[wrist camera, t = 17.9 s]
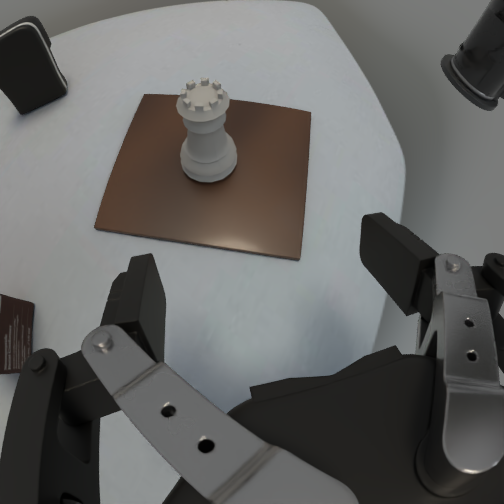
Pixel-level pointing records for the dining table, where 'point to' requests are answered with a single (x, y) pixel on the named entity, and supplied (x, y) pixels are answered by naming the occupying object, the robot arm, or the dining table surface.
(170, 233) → the serving board
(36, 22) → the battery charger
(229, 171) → the rook chess piece
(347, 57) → the dining table surface
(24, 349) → the box
